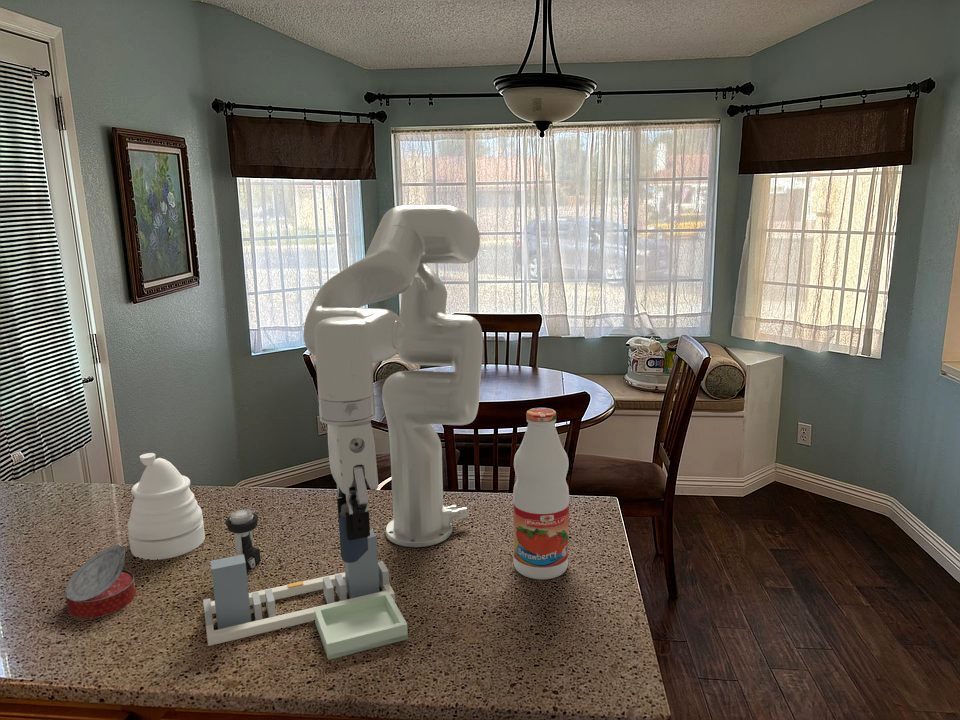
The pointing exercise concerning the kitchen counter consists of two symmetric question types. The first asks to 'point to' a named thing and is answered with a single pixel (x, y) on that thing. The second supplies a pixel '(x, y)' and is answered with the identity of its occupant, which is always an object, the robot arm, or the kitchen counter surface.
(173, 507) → the honey pot
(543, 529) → the fruit juice
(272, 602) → the rail
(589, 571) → the kitchen counter surface
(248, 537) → the push button
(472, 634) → the kitchen counter surface
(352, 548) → the vaping device
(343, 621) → the tray
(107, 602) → the canned food
